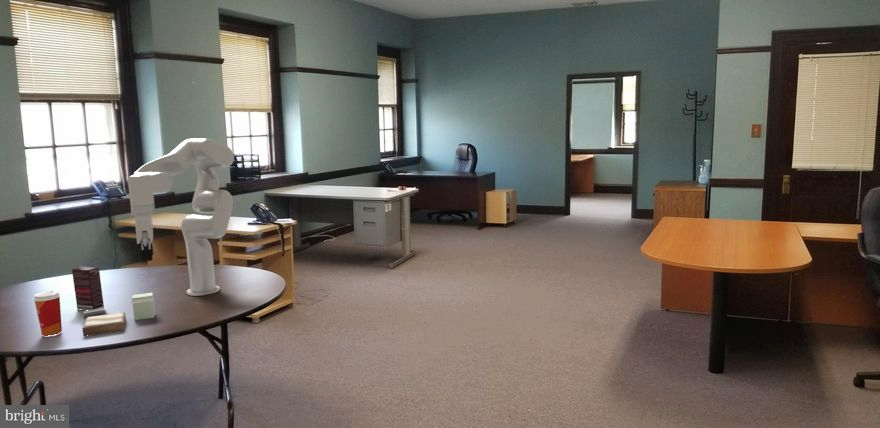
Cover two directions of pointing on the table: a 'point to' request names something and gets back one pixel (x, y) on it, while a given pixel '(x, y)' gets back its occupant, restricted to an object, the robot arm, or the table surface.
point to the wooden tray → (104, 324)
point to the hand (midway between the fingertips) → (148, 258)
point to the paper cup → (49, 312)
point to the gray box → (94, 313)
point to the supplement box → (88, 288)
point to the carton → (143, 306)
